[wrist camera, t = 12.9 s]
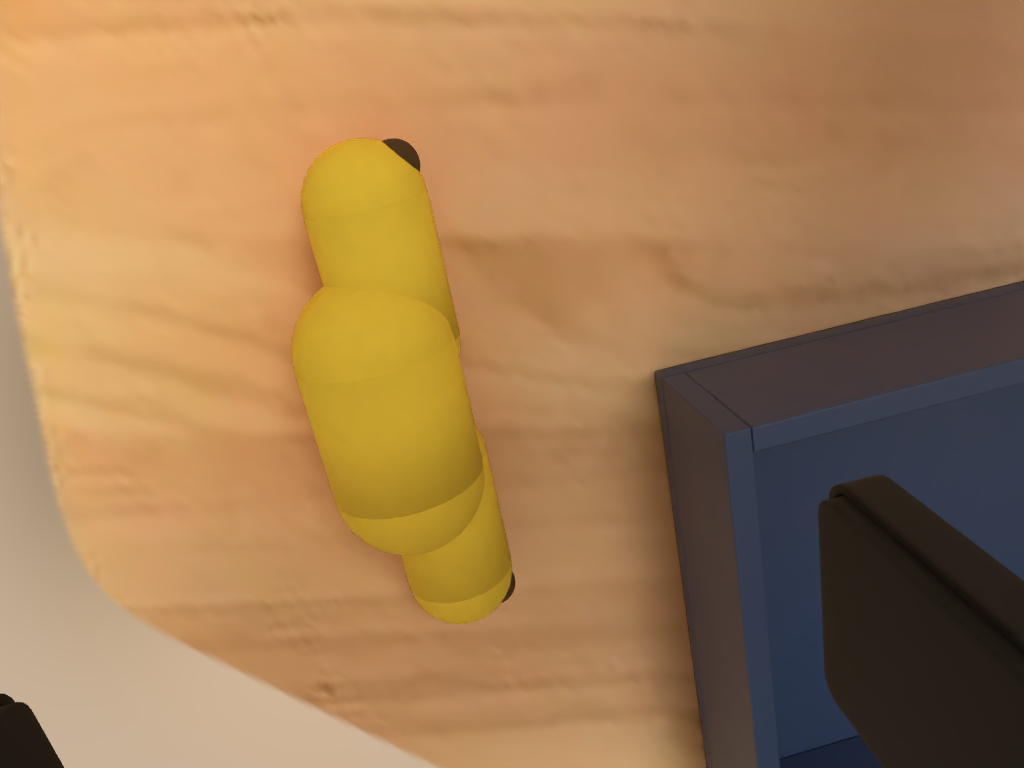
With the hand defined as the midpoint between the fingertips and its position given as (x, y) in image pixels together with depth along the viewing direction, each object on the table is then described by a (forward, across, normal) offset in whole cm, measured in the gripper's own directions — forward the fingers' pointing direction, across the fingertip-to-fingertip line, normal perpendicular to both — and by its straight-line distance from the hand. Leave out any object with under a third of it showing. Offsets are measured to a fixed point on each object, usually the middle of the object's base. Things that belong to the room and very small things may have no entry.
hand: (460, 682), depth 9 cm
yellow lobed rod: (+13, +1, +1) cm, 13 cm away
